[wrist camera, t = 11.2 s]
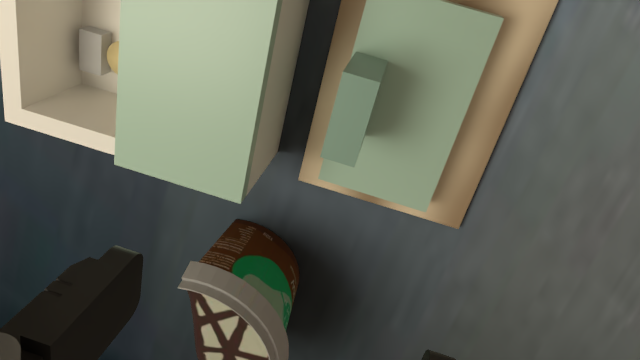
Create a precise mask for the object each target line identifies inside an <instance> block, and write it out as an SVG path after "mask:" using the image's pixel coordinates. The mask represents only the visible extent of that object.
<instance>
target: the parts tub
mask: <svg viewBox="0 0 640 360" xmlns="http://www.w3.org/2000/svg"><path fill="white" fill-rule="evenodd" d="M309 1H310V0H0V60H1V73H2V87H3V100H4V114H5V121H6V122H10V123H13V124H16V125H19V126H22V127H26V128H29V129H32V130H35V131H39V132H42V133H45V134H48V135H51V136H55V137H58V138H61V139H64V140H67V141H71V142H74V143H77V144H80V145H84V146H87V147H90V148H93V149H96V150H100V151H103V152H106V153H109V154H112V155H115V157H114V165H118V166H121V167H124V168H127V169H130V170H134V171H137V172H140V173H143V174H146V175H150V176H153V177H156V178H159V179H162V180H166V181H169V182H172V183H175V184H178V185H182V186H185V187H188V188H191V189H194V190H198V191H201V192H204V193H207V194H210V195H214V196H217V197H220V198H223V199H226V200H230V201H233V202H236V203H239V204H241V202H242V201H243V200H244V198H245V197H246V195H247V194H248V193H249V191H250V190H251V188H252V187H253V186H254V184H255V183H256V181H257V180H258V179H259V177H260V176H261V174H262V173H263V172H264V170H265V169H266V167H267V166H268V165H269V163H270V162H271V160H272V159H273V158H274V156H275V155H276V153H277V152H278V148H279V143H280V138H281V134H282V129H283V124H284V119H285V115H286V110H287V105H288V100H289V96H290V91H291V86H292V82H293V77H294V72H295V67H296V63H297V58H298V53H299V48H300V44H301V39H302V34H303V29H304V25H305V20H306V15H307V11H308V6H309Z"/></svg>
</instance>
